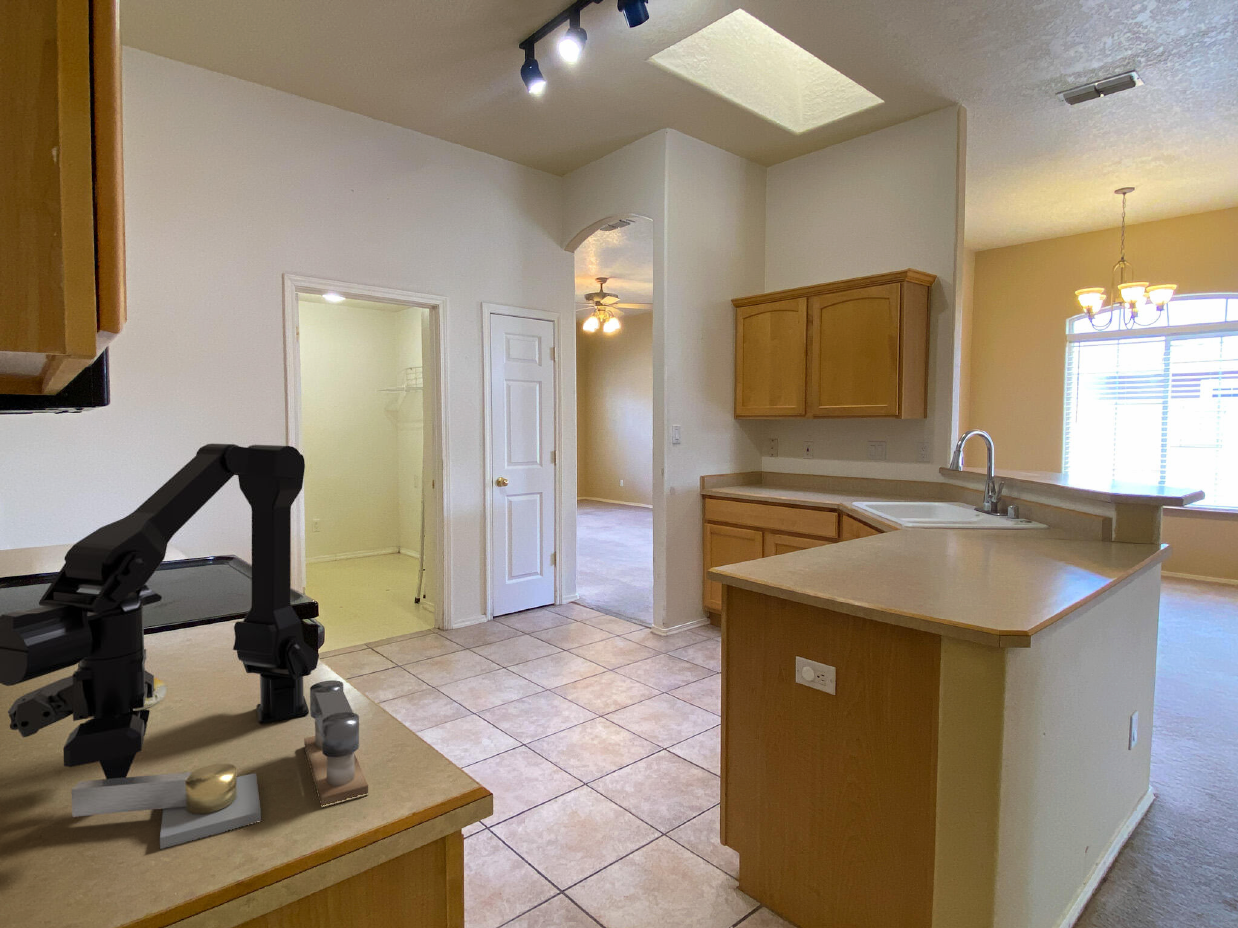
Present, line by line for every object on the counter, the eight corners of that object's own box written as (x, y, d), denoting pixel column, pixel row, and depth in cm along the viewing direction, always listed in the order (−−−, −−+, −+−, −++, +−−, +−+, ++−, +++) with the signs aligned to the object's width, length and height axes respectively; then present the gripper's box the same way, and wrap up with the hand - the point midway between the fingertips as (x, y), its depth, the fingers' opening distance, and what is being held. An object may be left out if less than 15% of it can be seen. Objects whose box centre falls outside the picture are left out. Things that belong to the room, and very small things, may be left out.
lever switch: (243, 786, 76) (242, 760, 75) (227, 811, 71) (226, 783, 71) (90, 800, 72) (89, 773, 72) (63, 826, 68) (62, 797, 68)
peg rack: (304, 746, 88) (303, 708, 87) (344, 737, 90) (344, 700, 90) (321, 807, 74) (321, 763, 74) (368, 795, 77) (367, 752, 76)
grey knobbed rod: (362, 751, 77) (361, 722, 76) (324, 760, 74) (324, 730, 74) (341, 703, 89) (340, 678, 89) (308, 709, 87) (308, 683, 87)
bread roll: (112, 694, 103) (111, 669, 103) (174, 692, 105) (173, 667, 104) (76, 718, 95) (75, 691, 95) (143, 715, 96) (143, 688, 96)
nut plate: (165, 804, 74) (165, 794, 74) (256, 782, 79) (255, 772, 79) (160, 849, 67) (159, 837, 67) (261, 821, 71) (260, 811, 71)
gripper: (36, 638, 77) (41, 767, 78) (-10, 696, 61) (-3, 858, 62) (152, 624, 83) (156, 744, 84) (138, 674, 67) (142, 822, 68)
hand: (116, 786), depth 74 cm, fingers closed
